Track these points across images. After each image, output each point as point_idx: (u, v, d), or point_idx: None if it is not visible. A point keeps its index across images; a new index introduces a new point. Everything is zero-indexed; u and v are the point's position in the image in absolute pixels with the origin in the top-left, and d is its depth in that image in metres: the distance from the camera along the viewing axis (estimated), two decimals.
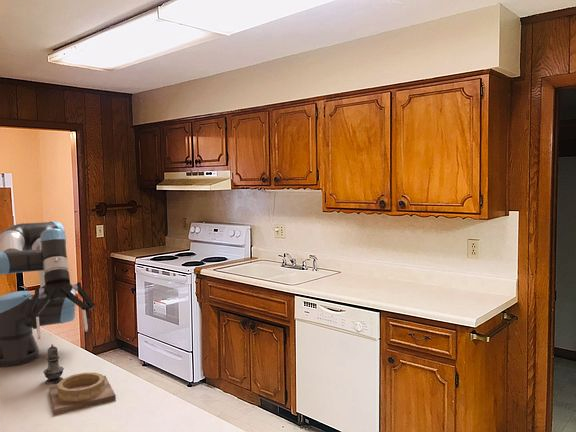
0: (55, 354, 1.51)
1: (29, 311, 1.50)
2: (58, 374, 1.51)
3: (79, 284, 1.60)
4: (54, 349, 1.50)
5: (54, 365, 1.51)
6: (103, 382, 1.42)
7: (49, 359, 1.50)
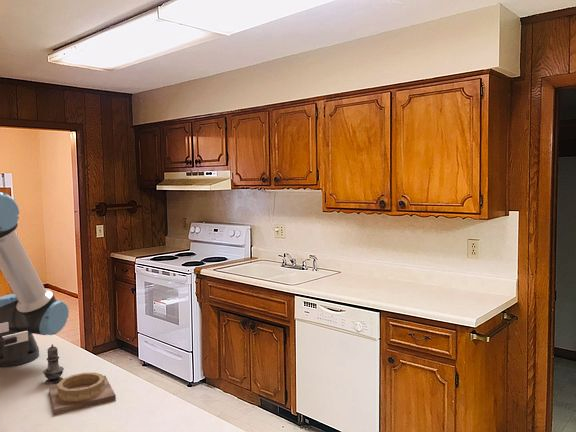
0: (55, 354, 1.51)
1: None
2: (58, 374, 1.51)
3: None
4: (54, 349, 1.50)
5: (55, 365, 1.51)
6: (103, 382, 1.42)
7: (49, 359, 1.50)
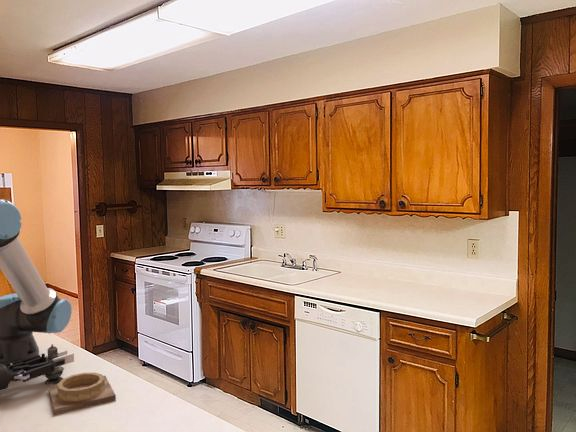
0: (55, 354, 1.51)
1: None
2: (58, 374, 1.51)
3: None
4: (54, 349, 1.50)
5: None
6: (103, 382, 1.42)
7: (49, 359, 1.50)
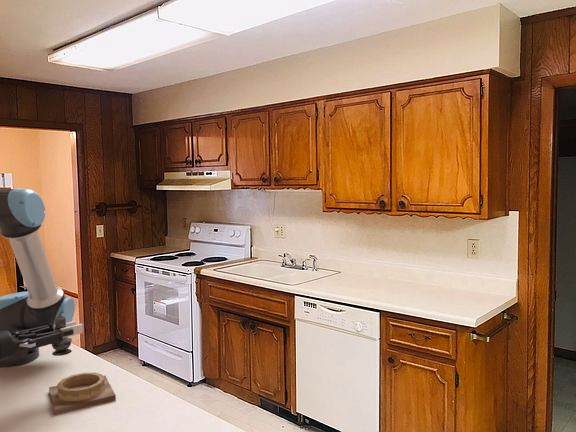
0: (63, 324, 1.42)
1: None
2: (66, 345, 1.42)
3: None
4: (62, 318, 1.42)
5: None
6: (103, 382, 1.42)
7: (57, 329, 1.41)
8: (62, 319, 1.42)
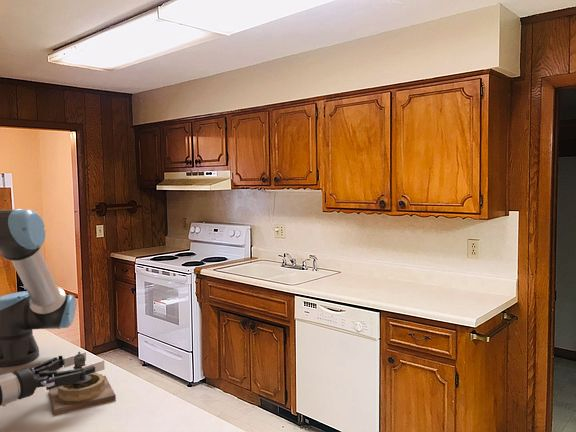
0: (82, 362, 1.40)
1: None
2: (86, 384, 1.40)
3: None
4: (81, 357, 1.40)
5: None
6: (103, 382, 1.42)
7: (76, 367, 1.39)
8: (81, 357, 1.40)
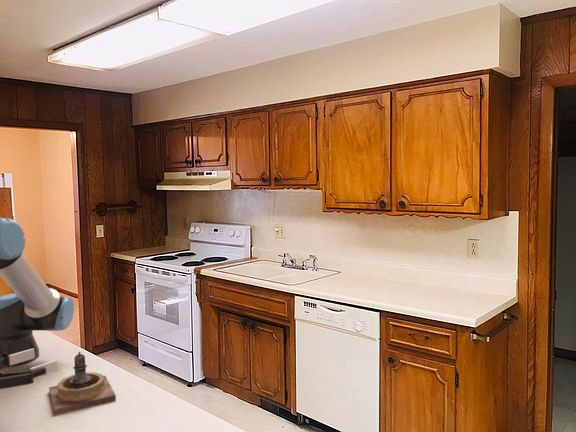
0: (82, 362, 1.40)
1: None
2: (86, 384, 1.40)
3: None
4: (81, 357, 1.40)
5: (82, 375, 1.40)
6: (103, 382, 1.42)
7: (76, 368, 1.39)
8: (82, 358, 1.40)
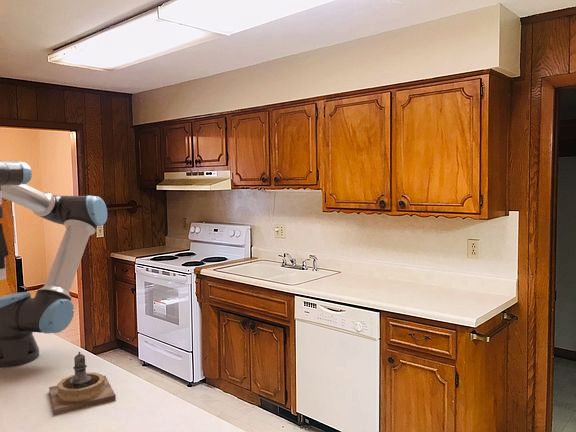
0: (82, 362, 1.40)
1: None
2: (86, 384, 1.40)
3: None
4: (81, 357, 1.40)
5: (82, 375, 1.40)
6: (103, 382, 1.42)
7: (76, 368, 1.39)
8: (81, 358, 1.40)
